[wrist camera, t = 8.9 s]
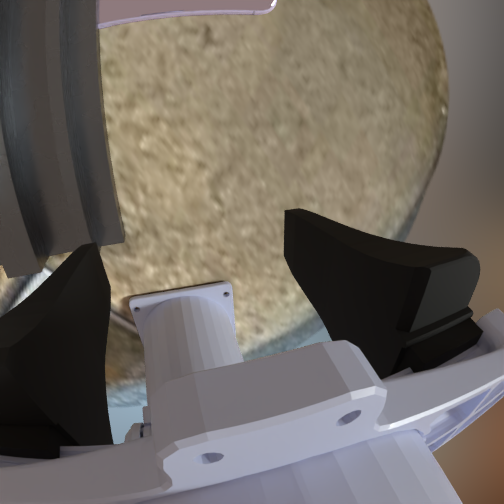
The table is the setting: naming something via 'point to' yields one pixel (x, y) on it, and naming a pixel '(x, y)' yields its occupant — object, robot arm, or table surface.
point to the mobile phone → (174, 9)
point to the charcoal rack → (52, 135)
